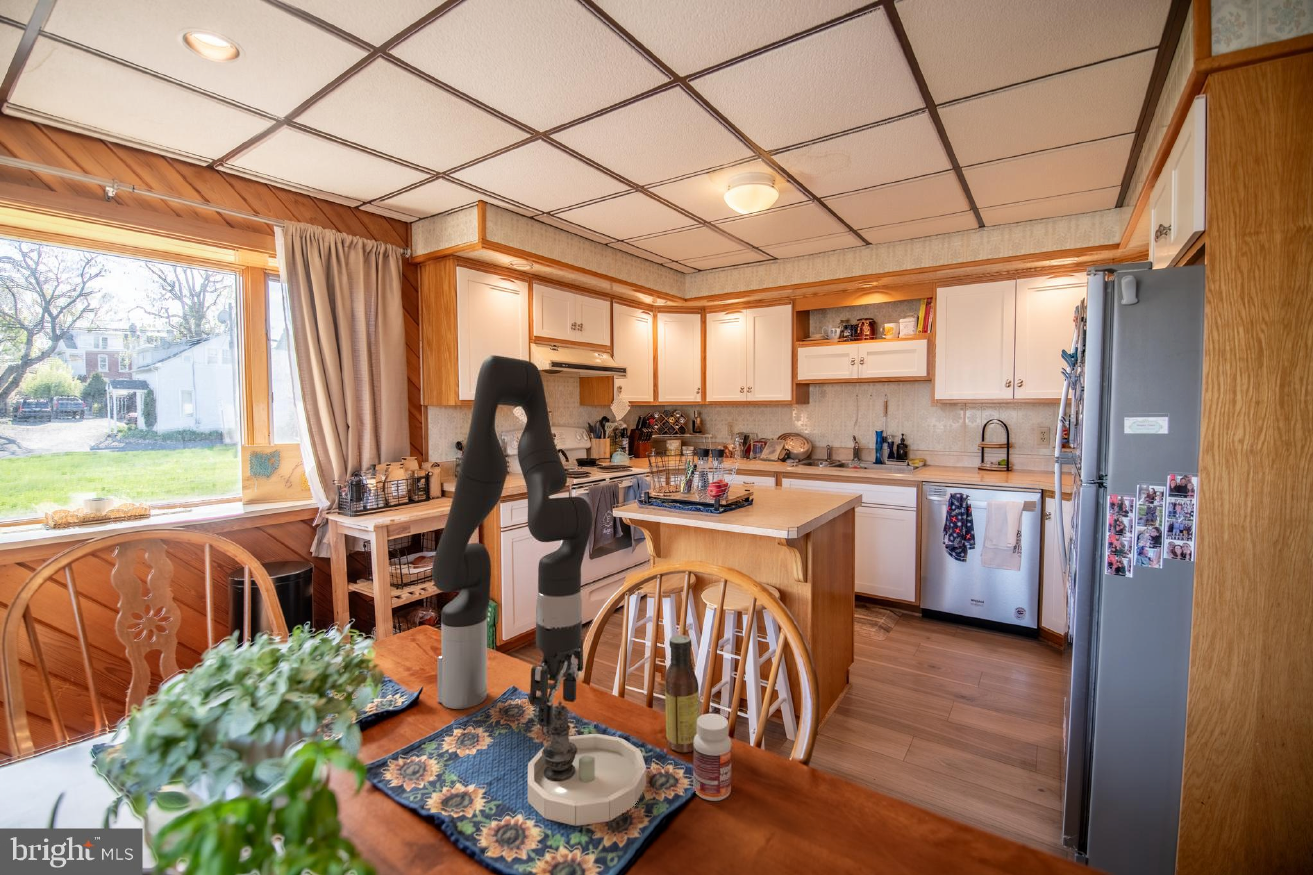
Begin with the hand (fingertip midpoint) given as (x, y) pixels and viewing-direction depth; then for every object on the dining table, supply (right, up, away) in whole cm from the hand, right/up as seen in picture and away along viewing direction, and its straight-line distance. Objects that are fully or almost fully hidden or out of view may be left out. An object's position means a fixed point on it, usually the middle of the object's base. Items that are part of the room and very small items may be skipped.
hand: (557, 712), depth 95 cm
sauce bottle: (+21, -11, +10) cm, 26 cm away
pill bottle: (+26, -12, -3) cm, 28 cm away
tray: (+5, -11, -1) cm, 12 cm away
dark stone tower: (0, -10, 0) cm, 10 cm away
